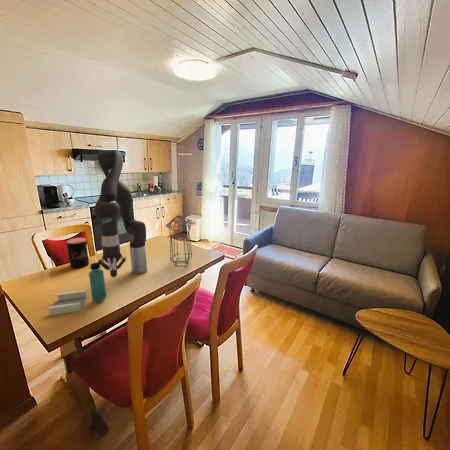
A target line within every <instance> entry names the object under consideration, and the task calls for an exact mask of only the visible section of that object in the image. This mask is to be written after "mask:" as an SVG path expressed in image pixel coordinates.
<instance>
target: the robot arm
mask: <svg viewBox="0 0 450 450" xmlns="http://www.w3.org/2000/svg"><path fill="white" fill-rule="evenodd" d="M97 161H98V163H99V166H100V168H101V170H102V172H103V174H104V176H105V178H104V179H103V181H102V183H101V186H100V195H99V196H98V197H99V198H98V200H97V201H96V202H95V203H96V204H95V205H94V210H93V211H94V215H95V216H96V217H97V218H100V219H101V218H102V219H104V218H111V220H110V221H109V220H108V221H104V222H102V223H101V224H100V229H101V230H100V233H101V246H102V257H101V258H99V259H98V261H97V263H99V264H100V267H102V268H103V269H105V270H106V271H108V270H109V272H110V276H111V278H116V276H118V270H119V269H120V268H122V265H124V263H125V262H126V260H127V257H126V256H123V255H122V253H121V248H120V247H121V245H120V238H119V231H118V230H119V229H118V227H119V225H118V224H119V223H118V222H119V217H120V216H121V219H122V222H123V226H124V230H125V232H126V233H127V234H128V235H131V236H133V239H132V240H130V242H129V255H130V264H131V265H130V266H131V267H130V268H131V273H132V274H135V275H137V274H138V275H139V274H144V273H146V272H148V267H147V266H148V265H147V261H148V260H147V252H146V250H147V249H146V242H147V228H146V227H147V226H146V224H145V223H144V221H140V220H136V219H135V217H134V214H133V206H134V198H133V196H132V193H131V190H130V188H129V187H128V186H127V185H126V184H125V183H123V181H122V180H120V177H121V174H122V170H123V167H124V158H123V155H122V154H121V151H119V150H118V149H111V150H104V151H100V152H98V153H97ZM119 261H120V262H119ZM118 262H119V263H118ZM117 263H118V264H117Z"/></svg>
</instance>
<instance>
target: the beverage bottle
mask: <svg viewBox="0 0 450 450" xmlns="http://www.w3.org/2000/svg"><path fill="white" fill-rule="evenodd" d="M89 268H90V272H88V277H89V283H90V284H89V285H90V290H91V292H90V293H91V299H92V301H93V302H101V301H104V300H105V299H106V298H107V289H106V282H105V281H106V280H105V275H104V270H103V269H101V265H100V264H99V263H98V262H93V263H91V264H90V267H89Z"/></svg>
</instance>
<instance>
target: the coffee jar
mask: <svg viewBox="0 0 450 450" xmlns="http://www.w3.org/2000/svg"><path fill="white" fill-rule="evenodd" d="M86 241H87V239H86V238H85V237H74V238H70V239H67V240H66V244H67V246H66V248H67V252H68V260H69V266H70V267H71V269H82V268H85V267H88V265H89V263H90V260H89V254H88V245H87V242H86Z"/></svg>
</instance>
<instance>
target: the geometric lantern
mask: <svg viewBox="0 0 450 450" xmlns="http://www.w3.org/2000/svg"><path fill="white" fill-rule="evenodd" d="M172 223H174V225H172ZM182 223H183V224H182ZM192 223H193V220H191V219H189V218H187V217H185V216H183V215H181V214H178V215H176V216H174V218H172V219H171V220H170V221H169V222H168V223H167V224H165V227H166V228H168V229H169V236H170V238H169V239H170V241H169V242H170V243H169V244H170V245H169V247H170V248H169V249H170V253H169V254H170V255H169V257H170V261H169V262H172V263H174V264H175V265H176V266H175V267H180V266H179V265H178V263H189V262H188V261H191V259H192V257H193V251H192V245H191V244H192V243H191V237H190V233H191V225H192ZM176 224H177V226H176ZM176 228H177V229H176ZM187 228H188V229H187ZM175 229H176V230H175ZM183 229H185V231H186V235H185V236H184V234H183V232H182V231H181V230H183ZM171 230H172V231H173V232H171ZM178 232H179V233H180V235H182V238H183V248H184V249H183V251H184V257H182V258H180V257H179V252H178V251H179V250H178V249H179V248H178V244H175V243H176V242H175V240H176V239H178V238H181V236H178ZM175 233H176V235H175ZM185 239H186V240H185ZM175 246H176V247H175ZM175 248H176V250H175ZM186 249H187V253H186ZM175 252H176V253H175ZM174 257H175V259H176V260H174ZM176 262H177V263H176Z"/></svg>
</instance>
